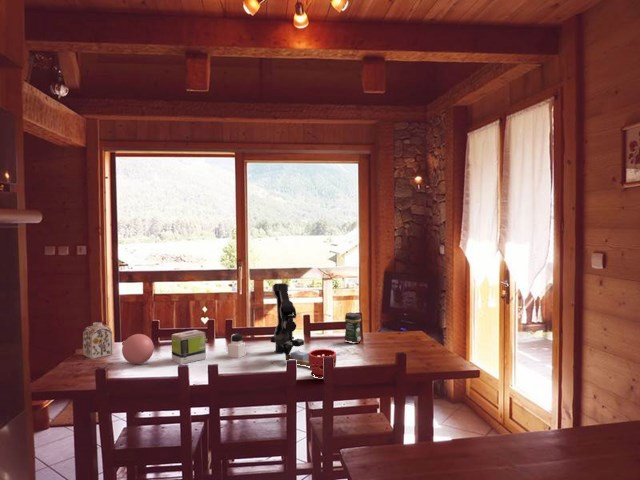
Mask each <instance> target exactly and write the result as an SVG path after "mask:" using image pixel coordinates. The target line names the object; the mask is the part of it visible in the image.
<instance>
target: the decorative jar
mask: <svg viewBox="0 0 640 480" xmlns="http://www.w3.org/2000/svg"><path fill="white" fill-rule="evenodd" d="M82 334H83V335H82V354H83V356H84V357H87V358H89V359H90V360H95V359H99V358H104V357H109V356H113V351H114V350H113V345H114V344H113V330H112V328H111V327H110V326H109V325H107V324H103V322H93V323H92V325H89V326H86V327H85V329H84V330H83V331H82Z"/></svg>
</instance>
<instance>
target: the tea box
mask: <svg viewBox="0 0 640 480" xmlns="http://www.w3.org/2000/svg"><path fill="white" fill-rule="evenodd" d="M206 346H207V345H206V332H205V331H201V330H198V329H193V330H188V331H183V332H182V331H181V332H178V333H173V334H171V361H172V362H174V363H177V364H179V365H184V364H189V363H193V362H197V361H201V360H206V359H207V358H206V357H207V354H206V353H207V350H206Z"/></svg>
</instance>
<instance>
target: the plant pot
mask: <svg viewBox="0 0 640 480" xmlns="http://www.w3.org/2000/svg"><path fill="white" fill-rule="evenodd" d="M308 353H309V365H310V368H309V369H310V370H311V372H310V376H311V375H312V376H314V375H315V377H318V378H322V377H323V358H324V357H333V359H334V367H335V368H336V364H337V353H336V351H335V350H332V349H327V348H326V349H325V348H320V349H313V350H311V351H309V352H308ZM324 355H325V356H324ZM322 356H324V357H322ZM313 374H314V375H313ZM312 376H311V377H312Z"/></svg>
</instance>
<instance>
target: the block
mask: <svg viewBox="0 0 640 480" xmlns="http://www.w3.org/2000/svg"><path fill="white" fill-rule="evenodd" d="M290 358H295V359H301V360H306V361H309V352H304V351H300V350H295V351H293V352H292V351H291V352H290Z"/></svg>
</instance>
